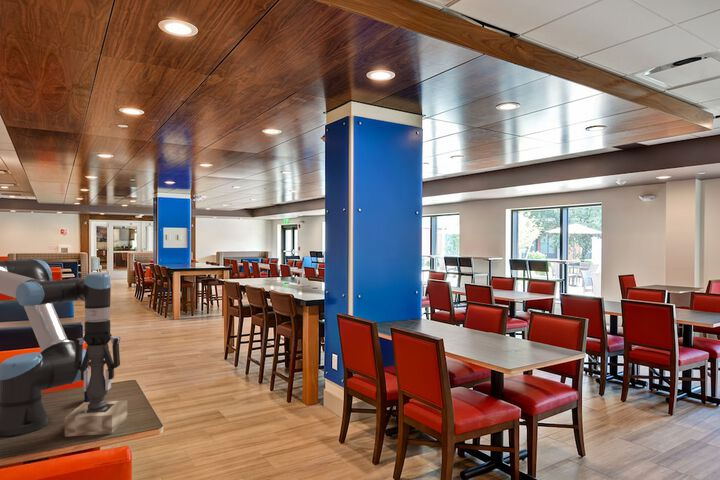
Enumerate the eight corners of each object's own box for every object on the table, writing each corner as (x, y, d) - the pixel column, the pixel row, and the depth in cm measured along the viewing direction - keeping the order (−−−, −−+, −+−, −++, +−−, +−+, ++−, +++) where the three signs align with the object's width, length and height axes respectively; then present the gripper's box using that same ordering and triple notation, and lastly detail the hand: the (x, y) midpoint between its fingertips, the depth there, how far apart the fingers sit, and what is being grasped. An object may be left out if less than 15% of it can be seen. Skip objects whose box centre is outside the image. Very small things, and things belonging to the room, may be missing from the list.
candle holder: (88, 416, 157) (88, 342, 156) (109, 414, 159) (109, 341, 159) (84, 423, 151) (84, 347, 151) (106, 421, 153) (106, 345, 153)
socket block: (64, 436, 147) (64, 417, 147) (84, 419, 161) (84, 402, 161) (112, 433, 149) (112, 415, 149) (127, 417, 163) (127, 400, 163)
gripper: (61, 322, 150) (61, 394, 150) (123, 321, 153) (123, 391, 153) (72, 318, 157) (72, 387, 157) (131, 317, 160) (131, 384, 160)
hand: (97, 389), depth 155 cm, fingers closed on candle holder, 6 cm apart
